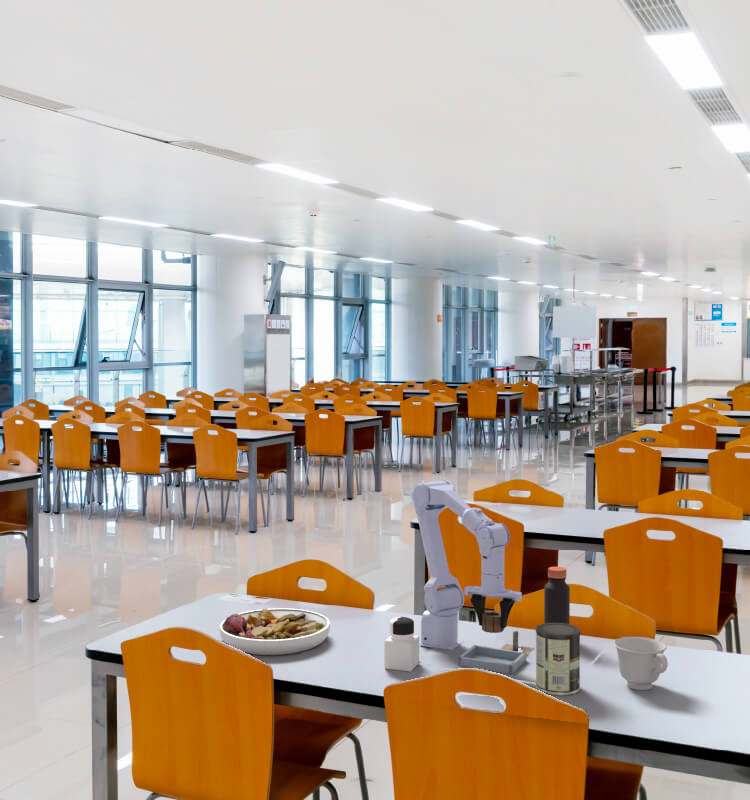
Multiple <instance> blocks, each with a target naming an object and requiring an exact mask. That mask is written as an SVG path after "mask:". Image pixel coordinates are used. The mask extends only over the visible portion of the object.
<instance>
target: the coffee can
mask: <svg viewBox="0 0 750 800" xmlns="http://www.w3.org/2000/svg"><path fill="white" fill-rule="evenodd" d="M535 636H536V637H535V643H536V644H535V646H536V647H535V648H536V649H535V653H536V654H535V656H536V657H535V665H536V666H535V667H536V668H535V672H536V673H535V687H536V689H537V690H538V689H539V690H541V691H543V692H546V693H548V694H547V695H550V694H551V695H552V696H571V695H574V694H578V693H579V691H580V690H581V687H580V683H581V682H580V681H581V680H580V669H581V668H580V666H581V665H580V663H581V662H580V657H581V655H580V654H581V653H580V649H581V648H580V647H581V644H580V643H581V642H580V641H581V640H580V637H581V629H580V628H579V627H578V626H576V625H573V624H571V623H570V624H566V623H544V622H543V623H540V624H538V625H536V626H535ZM539 690H538V691H539ZM541 691H540V692H541ZM543 692H542V693H543ZM546 693H545V694H546Z"/></svg>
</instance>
